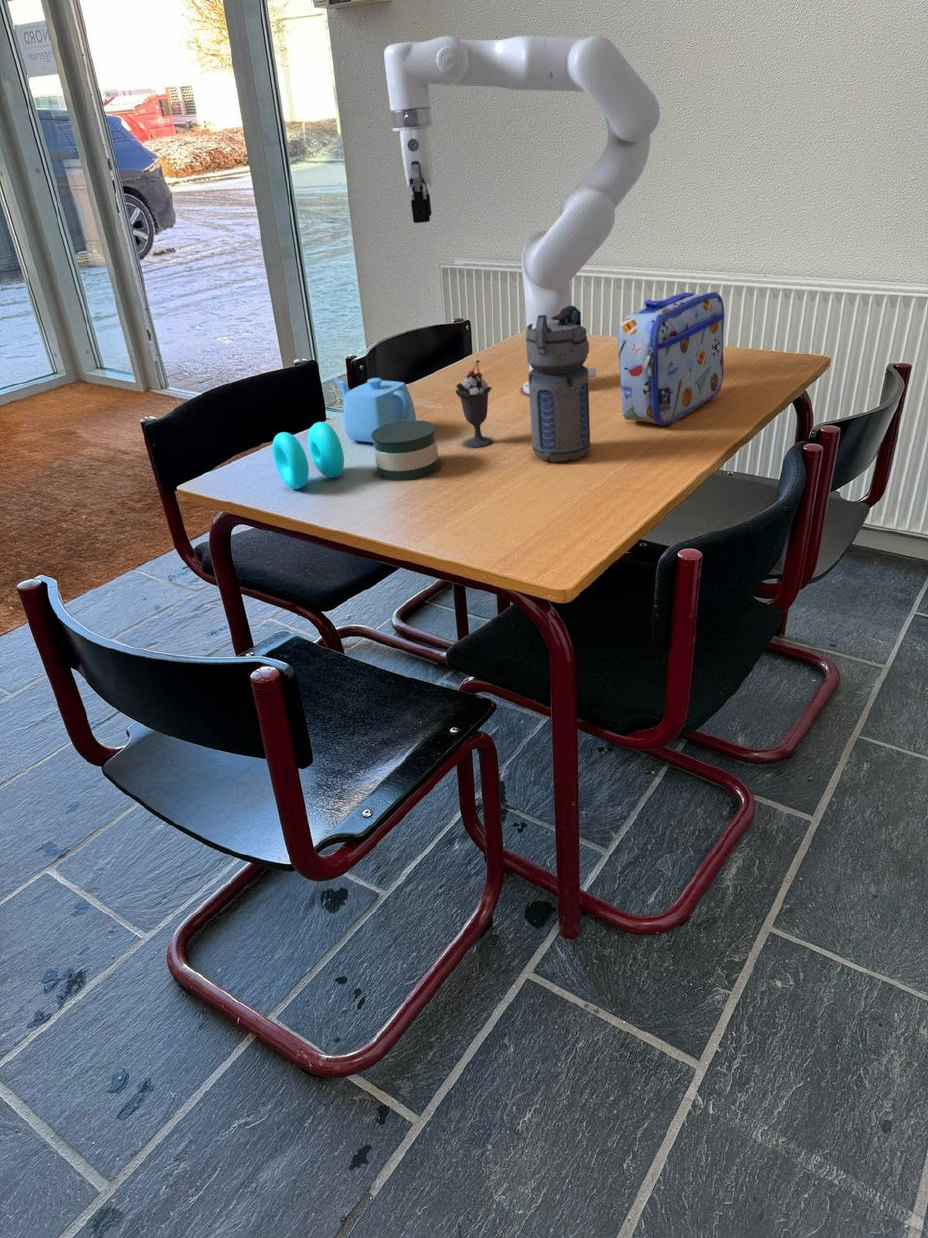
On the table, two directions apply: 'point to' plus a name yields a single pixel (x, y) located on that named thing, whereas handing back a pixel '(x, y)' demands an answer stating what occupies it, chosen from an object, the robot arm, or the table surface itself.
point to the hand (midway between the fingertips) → (422, 218)
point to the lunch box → (671, 357)
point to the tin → (405, 449)
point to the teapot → (374, 407)
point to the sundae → (474, 404)
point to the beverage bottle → (559, 387)
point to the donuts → (321, 449)
